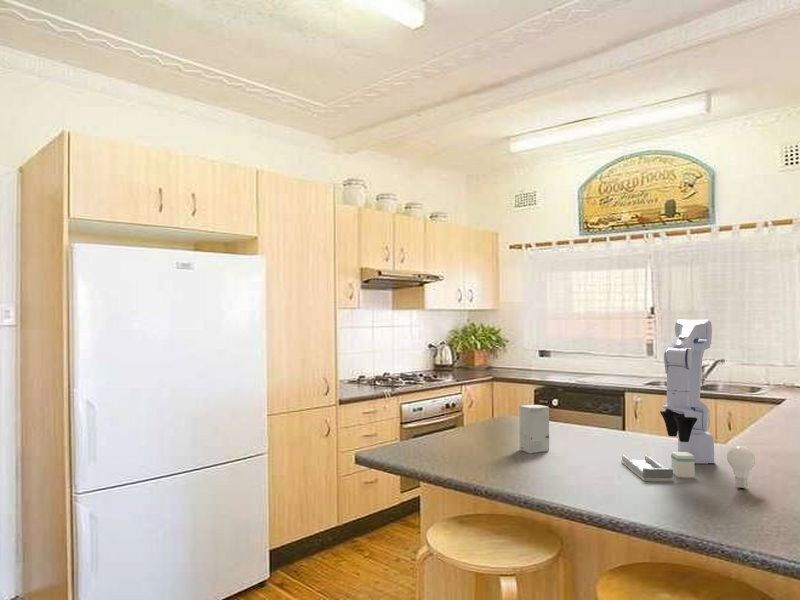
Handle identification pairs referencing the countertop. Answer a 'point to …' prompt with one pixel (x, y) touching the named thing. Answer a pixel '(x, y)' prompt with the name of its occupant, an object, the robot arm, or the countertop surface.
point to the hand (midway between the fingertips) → (678, 438)
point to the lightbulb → (741, 464)
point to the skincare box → (534, 428)
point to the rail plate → (648, 469)
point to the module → (683, 464)
